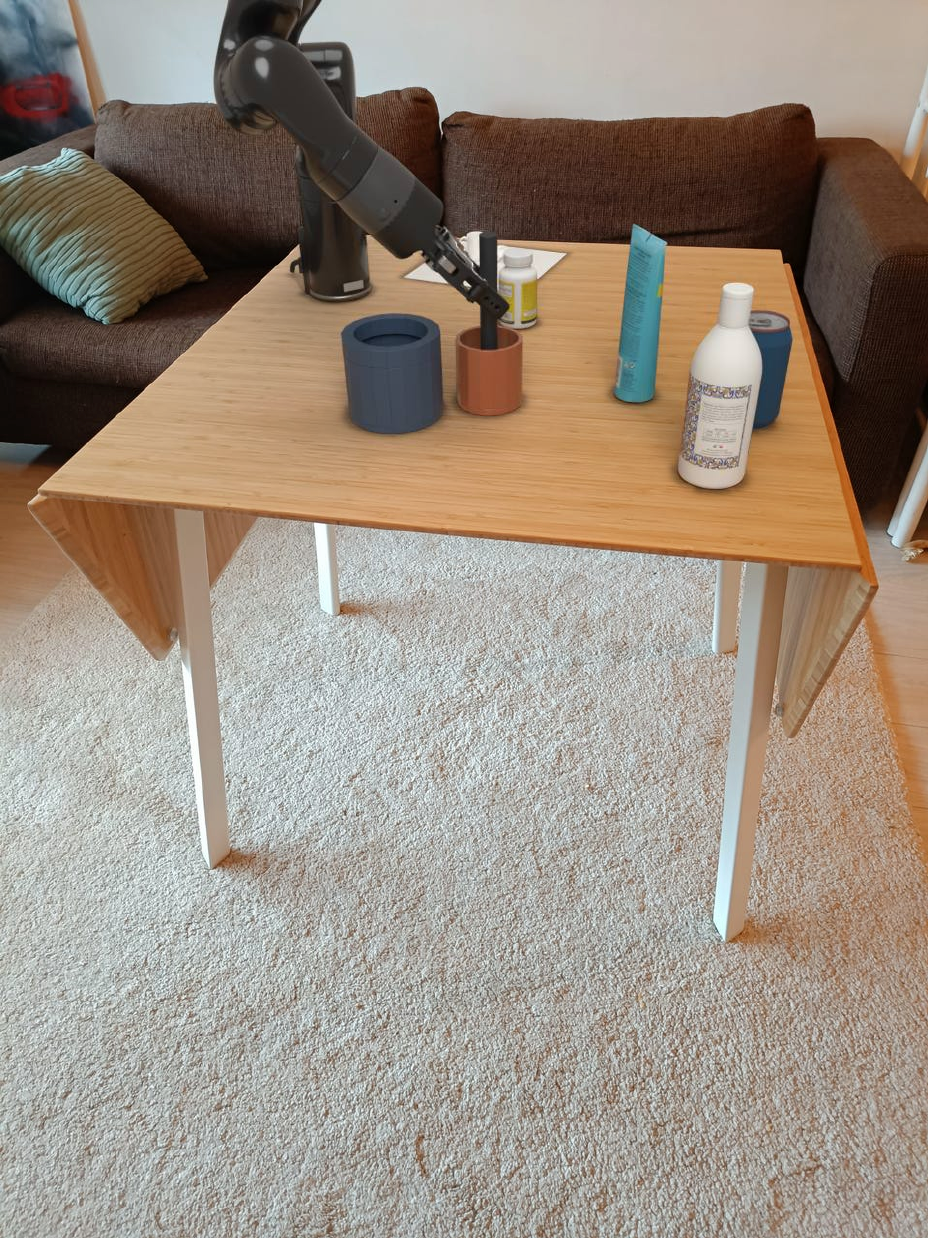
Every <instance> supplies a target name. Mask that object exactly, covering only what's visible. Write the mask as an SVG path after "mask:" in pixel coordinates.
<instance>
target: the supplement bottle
mask: <svg viewBox="0 0 928 1238" xmlns="http://www.w3.org/2000/svg"><path fill="white" fill-rule="evenodd" d="M529 249H530V248H524V247H523V248H522V247H516V248H512V249H508V250H506V251H504V255H503V261H504V264H505V266H504V267H503V268H501V269H500V271H499V277H498V281H499V283H498V285H499V291H498V294H499V295H500V296H502V297H503V298H504V299H505V300H506V301H507V302H508V304H509V305H510V308H509V310H508V311H507V312H506V313H505V314H504V315H503V316H502V318H501V319H499V320H498V323H499V324H500V326H504V327H509V328H512V329H514V330H519V329H528V328H531V327H533V326H534V325H536V323H537V321H538V320H537V319H538V279H537V271H536V269H535V268H534V267H533V266H531V264H532V261H533V252H532V251H531V250H529Z"/></svg>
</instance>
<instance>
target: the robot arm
mask: <svg viewBox="0 0 928 1238" xmlns="http://www.w3.org/2000/svg"><path fill="white" fill-rule="evenodd" d="M322 1H323V0H227V5H226V9H225V12H224V17H223V21H222V25H221V30H220V34H219V39H218V44H217V49H216V54H215V59H214V67H213V79H212V81H213V83H212V85H213V94H214V95H213V96H214V99H215V100H214V101H215V103H216V106H217V109H218V111H219V113H220V115H221V117H222V118H223V119H224V121H225V122H226V124H227V125H229V126H230V127H231V128H232V129H234V130H235V131H236V132H238V133H241V134H243V135H247V136H257V135H261V134H265V133H268V132H269V131H271V130H273V128H275V127H276V126H278V125H280V126H281V127H282V128H283V129H284V130H285V131H286V132H287V134H288V135H289V136H290V137H291V139H293V141H294V143H296V145H297V146H296V149H295V154H294V167H295V174H296V183H297V191H298V197H299V198H298V199H299V206H300V208H299V209H300V216H301V225H302V226H299V227H298V228H297V238H298V244H299V248H298V249H299V255H300V256H299V257H298V258H297V259H294V260H293V261H291V262H290V264H289V272H290V273H291V274H294V273H295V271H296V266H298V273H299V274H302V279H303V288H304V293H305V294H309V295H310V296H311V297H312V298H314V299H317V300H319V301H326V302H346V301H353V300H357V299H361V298H362V297H365V296H367V295H369V294H370V292H372V283H371V276H370V263H369V262H370V261H369V250H368V249H369V248H368V239H367V238H368V237H367V234H368V235H369V236H371V237H372V238H373V239H374V240H375V241H376V242H377V243H378V244H380V245H381V246H382V247H383V249H385V250H387V252H389V254H391V255H392V256H393V257H394V258H396V259H398V260H406V259H408V258H410V257H412V256H413V255H414V254H415V253H417V252H420V251H421V253H420V254H419V255H420V256H421V257H422V258H423V259H424V261H423V262H424V263H426V264H427V265H428V266H429V267H430V268H431V270H433V271H435V272H436V273H437V272H438V273H439V274H440V275H441V276H442V277H443V279H444V280H445V281H446V282H447V283H448V285H449V286H450V287H452V288H454V289H455V290H456V291H457V292H458V293H460V294H461V296H463V297H464V298H465V300H466V301H467V302H468V303H471V304H474V303H476V304H477V305H479V307H480V306H481V307H482V308H483V309H484V310H485V311H486V312H488V313H489V314H490V315H491V316H492V317H493V318H494V319H496V320H498V321H499V319H501V318H502V316H503V315H504V314H505V313H506V312H507V311H508V310H509V308H510V305H509V304H508V302H507V301H506V300H505V299H504V298H503V297H502V296H500V295H499V292H498V293H497V292H496V291H495V290H494V289H493V288H492V287H491V286H490V285H489V284H488V283H487V280H486V279H485V278H482V277H481V276H480V267H479V266H478V265H477V264H476V263H475V262H474V261H473V260H472V259H471V258H470V256H469V255H468V252H467V251H466V250H465V251H464V246H463V245H462V244H461V243H460V242H459V241H460V240H458V239H457V238H456V236H455V235H454V234H453V233H452V232H451V231H450V230H449V228H447V227H446V226H443V227H441V226H440V225H439V224H440V222H441V220H442V217H443V214H444V204H443V202H442V200H441V199H440V198H438V197H437V196H436V194H434V193H433V192H432V191H431V190H430V189H429V188H428V187H427V186H426V185H425V184H424V183H422V181H421V180H420V179H418V178H417V177H416V176H415V175H414V174H413V173H412V172H411V171H410V170H409V169H408V168H407V167H406V166H405V165H403V163H401V162H400V161H399V160H398V159H397V158H396V157H395V156H393V155H392V154H391V153H390V152H388V151H386V150H385V149H384V148H382V147H381V146H380V145H379V144H378V143H376V141H374V140H373V139H372V137H370V136H369V135H368V134H367V133H366V132H365V131H364V130H363V129H362V128H360V126H359V125H358V115H357V114H358V113H357V111H358V110H357V83H356V70H355V63H354V58H353V53H352V51H351V49H350V47H349V46H348V44H347V43H346V42H343V41H314V42H313V41H312V42H301V43H300V42H299V41H300V38H301V35H302V33H303V30H304V28H305V26H306V25H307V24H308V22H309V20H310V19H311V17H312V16H313V15H314V14H315V12H316V11H317V9H318V8H319V6H320V5H321V3H322ZM464 281H466V282H467V283H468V284H469V285H470V286H471V287H469V288H468V287H467V286H464V284H463V282H464Z"/></svg>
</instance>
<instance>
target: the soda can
mask: <svg viewBox="0 0 928 1238" xmlns="http://www.w3.org/2000/svg"><path fill="white" fill-rule="evenodd" d="M790 325H791V320H790V318H789V317H788V316H786V315H785V314H782V313H780V312H776V311H772V310H766V309H765V310H763V309H759V310H758V309H756V310H755V309H754V310H752V309H751V313H750V319H749V323H748V326H749V328H750V330H751V332H752V334H753V336H754V338H755V340H756V342H757V344H758V347H759V349H760V353H761V358H762V378H761V384H760V390H759V395H758V401H757V407H756V413H755V418H754V424H753V430H752V432H760V431H763V430H766V429H767V428H769V427H770V426H771V425H772V424H773V423H774V422H775V421H776V419H777V418H778V417H779V415H780V411H781V405H782V398H783V393H784V389H785V383H786V379H787V372H788V368H789V361H790V356H791V351H792V346H793V341H794V336H793V333H792V329H791V327H790Z"/></svg>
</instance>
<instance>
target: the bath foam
mask: <svg viewBox="0 0 928 1238" xmlns="http://www.w3.org/2000/svg"><path fill="white" fill-rule="evenodd" d="M754 293H755V289H754V286H752V285H750V284H749V283H745V282H730V283H725V284H724V285H723V286H722V288H721V294H720V301H719V308H718V316H717V323H716V324H715V325H714V326H713V328H711V330H709V332H708V333H707V335H706V336H705V337H703V339H702V341H701V342H700V343H699V345H698V347H697V348H696V350H695V352H694V354H693V357H692V360H691V364H690V368H689V373H688V381H687V390H686V398H685V406H684V413H683V423H682V429H681V437H680V445H679V446H680V447H679V454H678V463H677V471H678V474H679V476H680V477H681V478H682V479H683V480H684V481H685V482H686V483H688V484H691V485H692V486H695V487H698V488H701V489H707V490H722V489H727V488H731V487H734V486H736V485H738V484H739V483H740V482H741V481H742V480H743V478H744V476H745V473H746V468H747V463H748V457H749V452H750V446H751V441H752V435H753V431H752V430H753V424H754V418H755V413H756V407H757V401H758V395H759V390H760V384H761V378H762V358H761V353H760V349H759V347H758V344H757V342H756V340H755V338H754V336H753V334H752V332H751V330H750V328H749V326H748V323H749V319H750V313H751V311H752V307H753V299H754Z"/></svg>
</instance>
